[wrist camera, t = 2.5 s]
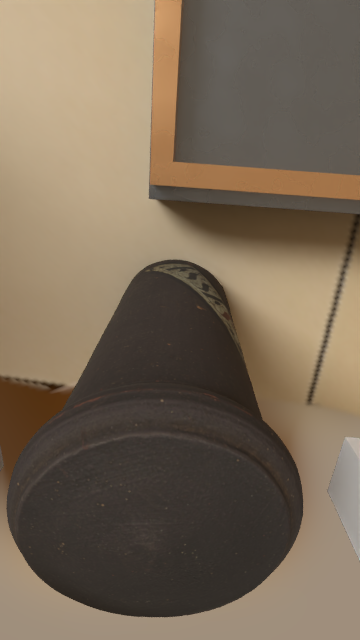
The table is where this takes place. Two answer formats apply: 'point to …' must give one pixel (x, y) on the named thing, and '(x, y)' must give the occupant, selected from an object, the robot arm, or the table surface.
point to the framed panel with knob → (257, 103)
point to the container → (158, 463)
